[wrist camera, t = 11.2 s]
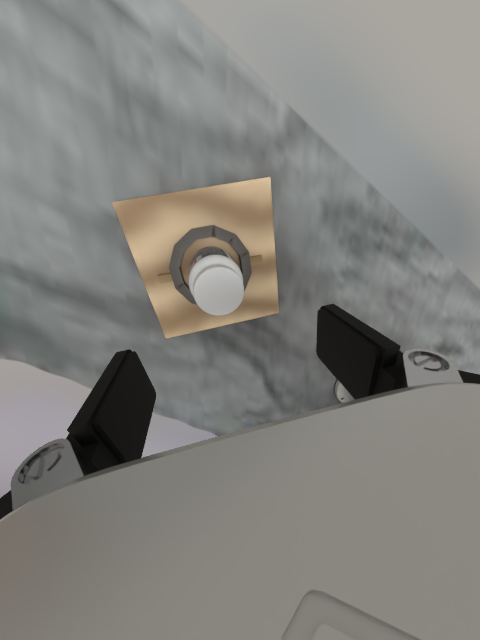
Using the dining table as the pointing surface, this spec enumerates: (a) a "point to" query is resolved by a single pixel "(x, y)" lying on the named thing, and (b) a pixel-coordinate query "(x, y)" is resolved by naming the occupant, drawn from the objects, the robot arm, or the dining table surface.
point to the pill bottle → (215, 281)
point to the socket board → (199, 232)
